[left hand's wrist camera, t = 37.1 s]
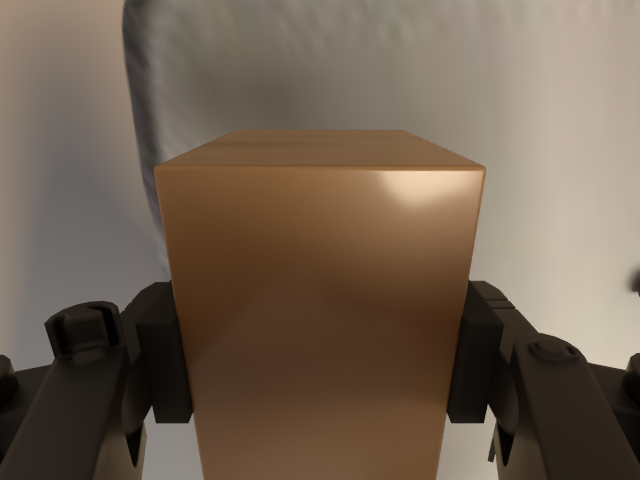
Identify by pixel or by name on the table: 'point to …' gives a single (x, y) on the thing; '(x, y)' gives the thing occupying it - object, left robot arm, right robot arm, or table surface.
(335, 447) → the brick
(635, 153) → the table surface
